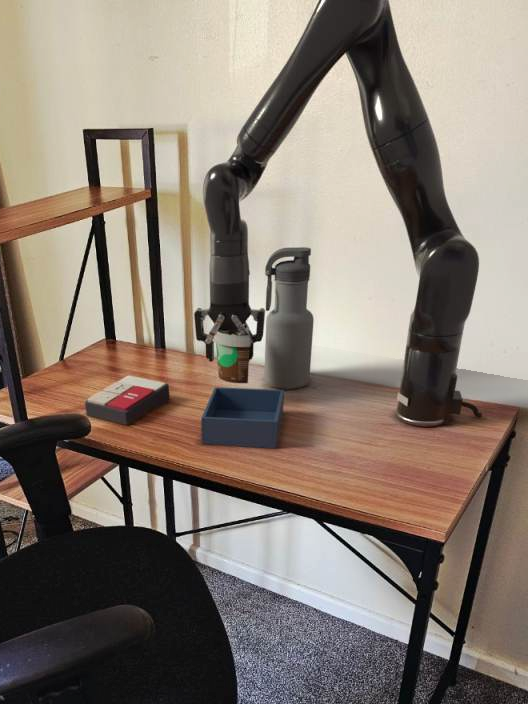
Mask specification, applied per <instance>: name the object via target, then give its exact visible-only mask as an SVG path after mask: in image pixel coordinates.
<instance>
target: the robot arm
mask: <svg viewBox="0 0 528 704" xmlns="http://www.w3.org/2000/svg"><path fill="white" fill-rule="evenodd" d="M344 55H346V57H347V60H348V63H349V64H350V67H351V69H352V72H353V74H354V77H355V80H356V84H357V89H358V94H359V100H360V107H361V113H362V119H363V124H364V129H365V133H366V137H367V141H368V144H369V147H370V149H371V152H372V156H373V159H374V160H375V163H376V166H377V168H378V171H379V173H380V175H381V177H382V180H383V182H384V185H385V186H386V188H387V191H388V193H389V195H390V196H391V197H390V198H391V199H392V200H393V202H394V204H395V206H396V209H398V212H399V214H400V216H401V218H402V221H403V223H404V227H405V230H406V233H407V237H408V241H409V244H410V249H411V253H412V257H413V258H412V259H413V262H414V267H415V271H416V273H417V276H418V277H419V278H418V279H419V280H418V286H417V293H416V297H415V298H416V300H415V305H414V308H413V310H412V312H411V313H410V317H409V323H408V330H407V337H406V345H405V351H404V357H403V365H402V373H401V379H400V387H399V392H397V394H396V396H397V397H396V401H397V406H396V412H395V417H396V419H398V420H399V421H400V422H402V423H404V424H407V425H410V426H415V427H426V428H429V427H438V426H441V425H449V424H450V420H451V415H457V416H459V415H461V410H462V407H465V408H467V409H470V410H471V411H472V413H473V415H474V417H476V418H482V416H483V413H482V412H479V409H478V407H477V406H476V405H475V404H472V403H470V402H466V401H464V400H463V396H462V394H461V391H460V390H456V387H457V382H458V373H457V369H458V364H459V363H458V362H459V357H460V351H461V346H462V340H463V336H464V330H465V326H466V321H467V320H468V318H469V316H470V313H471V311H472V306H473V301H474V296H475V292H476V287H477V282H478V276H479V270H480V256H479V253H478V250H477V249H476V248H475V246H474V245H473V244H472V243H471V242H470V241H468V239H466V237H465V236H464V235H463V233H462V231H461V229H460V227H459V225H458V223H457V221H456V219H455V217H454V215H453V212H452V210H451V207H450V205H449V202H448V199H447V195H446V192H445V186H444V178H443V169H442V163H441V162H442V161H441V155H440V151H439V146H438V143H437V139H436V137H435V133H434V130H433V127H432V124H431V121H430V119H429V116H428V112H427V110H426V107H425V105H424V102H423V100H422V97H421V94H420V91H419V90H418V87H417V85H416V83H415V80H414V78H413V76H412V73H411V72H410V68H409V67H408V65H407V63H406V61H405V58H404V56H403V53H402V49H401V47H400V43H399V40H398V36H397V32H396V28H395V23H394V19H393V14H392V9H391V5H390V0H318V2H317V3H316V5H315V7H314V10H313V12H312V14H311V16H310V18H309V20H308V23H307V24H306V27H305V28H304V30H303V33H302V34H301V37H300V38H299V40H298V42H297V44H296V45H295V48H293V51H292V53H291V55H290V56H289V57H288V59H287V61H286V62H285V64H284V65H283V67H282V69H280V72H279V73H278V74H277V76H276V77H275V79H274V80H273V82H272V83H271V85H270V86H269V87H268V89H267V90H266V91H265V93H264V94H263V96H262V97H261V99H260V100H259V102H258V103H257V105H256V106H255V107H254V109H253V110H252V112H251V114H250V115H249V116H248V118H247V119H246V121H245V122H244V124H243V125H242V127H241V128H240V131H239V132H238V134H237V136H236V146H235V149H234V150H233V153H232V154H231V156H229V158H228V160H227V161H225V162H221V163H217V164H215V165H213V166H211V168H209V170H208V171H207V173H206V174H205V176H204V180H203V186H202V198H203V199H202V200H203V205H204V209H205V214H206V219H207V223H208V226H209V230H210V232H209V233H210V234H209V245H210V249H209V250H210V252H209V253H210V256H209V257H210V258H209V259H210V260H209V267H208V269H209V307H208V308H205V309H202V308H201V307H197V308H196V310H195V311H194V312H193V313H194V314H193V316H194V317H193V318H194V319H193V320H194V330H195V338H196V340H197V341H198V342H203V343H204V344H205V357H206V359H207V360H208V362H211V363H213V362H214V360H215V341H214V340H213V338H214V335H215V334H216V333H217V331H218V329H220V330H221V331H226V330H231V331H237V330H239V332H240V333H241V335H246V336H248V335H250V347H249V362H250V361H252V360H253V357H254V344H255V343H257V342H258V343H259V342H262V340H263V337H264V330H265V321H266V320H265V319H266V318H265V317H266V308H263V307H260V308H259V309H256V308H255V309H254V308H251V306H250V275H251V272H250V260H249V227H248V223H247V222H246V220H245V219H243V218H241V217H242V216H241V208H240V202H242V201H244V200H245V199H246V198H248V197H249V195H250V194H251V193H252V192H253V191H254V189H255V188H256V186H257V185H258V183H259V181H260V180H261V178H262V176H263V174H264V172H265V170H266V168H267V166H268V164H269V162H270V161H271V158H272V157H273V156H274V155H275V153H276V152H277V151H278V150H279V148H280V147H281V146H282V144H283V143H284V141H285V140H286V138H287V137H288V136H289V134H290V133H291V131H292V130H293V129H294V127H295V125H296V124H297V122H298V121H299V119H300V118H301V116H302V114H303V112H304V110H305V109H306V107H307V105H308V104H309V102H310V101H311V99H312V97H313V95H314V94H315V92H316V90H317V89H318V87H319V86H320V85H321V83H322V82H323V80H324V79H326V78H325V77H326V76H327V75H328V74H329V72H330V71H331V70H332V69H333V67H334V66H335V65H336V64H338V62H339V61H340V60H341V59H342V58H343V56H344ZM207 316H208V317H209V319H210V320H211V321H212V323H213V326H212V327H211V329H210V331H209V332H208V334H207V333H205V327H204V325H205V324H204V321H205V320H206V319H207ZM250 316H251V317H252V318H253V321H254V322H256V331H255V333H254V334H253V333H252V330H251V329H250V326H249V325H248V322H247V321H248V319H249V318H250Z"/></svg>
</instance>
